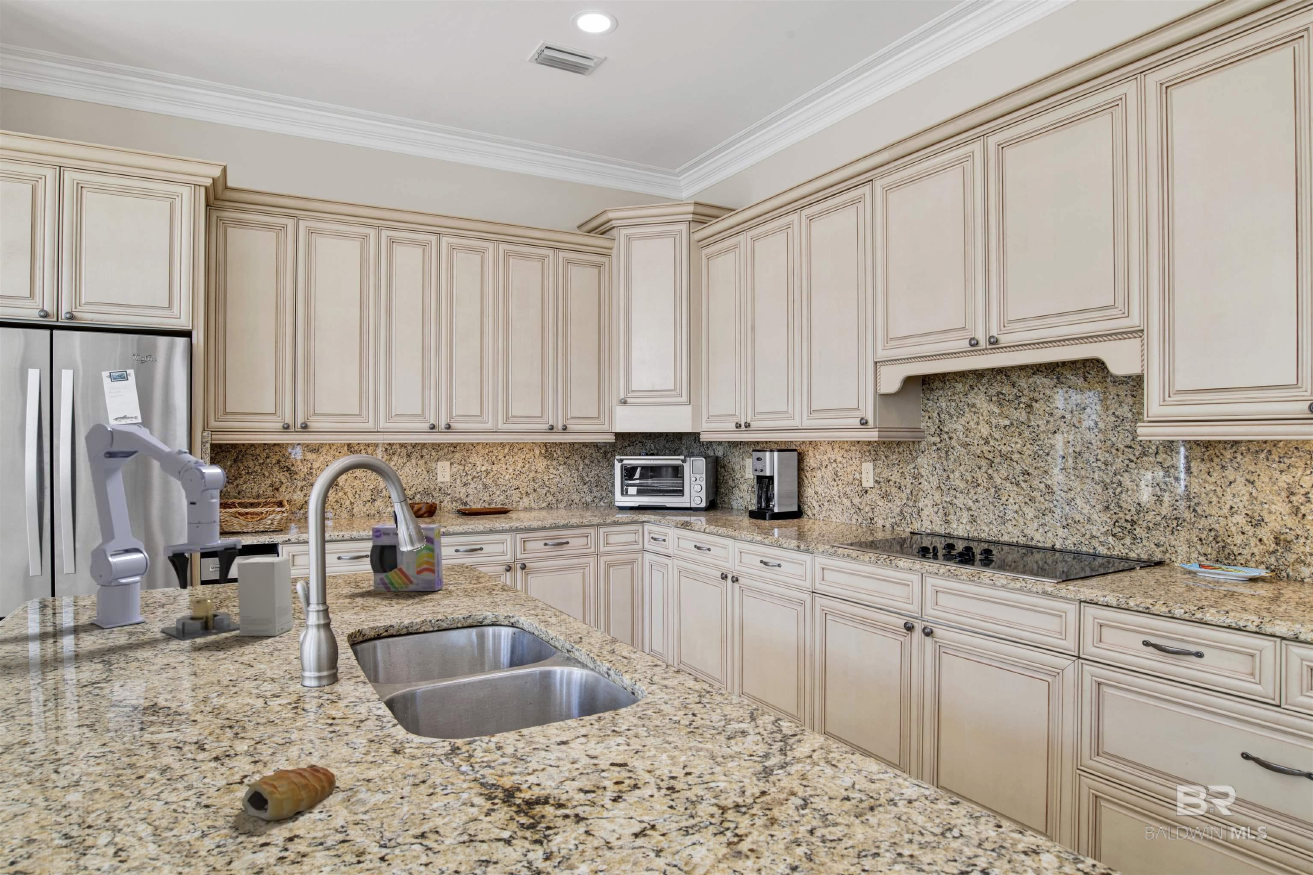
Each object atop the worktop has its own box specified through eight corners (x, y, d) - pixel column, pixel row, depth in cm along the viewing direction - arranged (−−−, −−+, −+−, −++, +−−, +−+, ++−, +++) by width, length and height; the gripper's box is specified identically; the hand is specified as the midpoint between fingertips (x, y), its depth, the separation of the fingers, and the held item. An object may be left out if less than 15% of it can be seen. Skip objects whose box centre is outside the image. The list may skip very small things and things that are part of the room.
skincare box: (293, 629, 158) (293, 556, 158) (274, 637, 152) (274, 561, 152) (256, 628, 159) (256, 555, 159) (236, 636, 152) (236, 560, 152)
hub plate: (161, 630, 157) (161, 618, 157) (222, 619, 166) (222, 607, 166) (183, 640, 149) (183, 626, 149) (245, 628, 159) (245, 615, 159)
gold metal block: (189, 628, 157) (189, 599, 157) (206, 624, 160) (206, 596, 160) (202, 631, 155) (202, 602, 155) (219, 627, 158) (219, 599, 158)
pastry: (312, 779, 89) (313, 747, 89) (350, 792, 86) (350, 759, 86) (235, 813, 81) (236, 778, 81) (274, 830, 77) (274, 793, 77)
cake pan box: (368, 590, 199) (368, 525, 199) (378, 586, 204) (378, 522, 204) (435, 593, 196) (435, 526, 196) (443, 589, 201) (443, 524, 201)
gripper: (172, 526, 150) (172, 593, 150) (247, 520, 161) (247, 582, 161) (159, 524, 154) (159, 589, 154) (233, 518, 165) (233, 578, 165)
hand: (203, 585), depth 158 cm, fingers open, 7 cm apart
